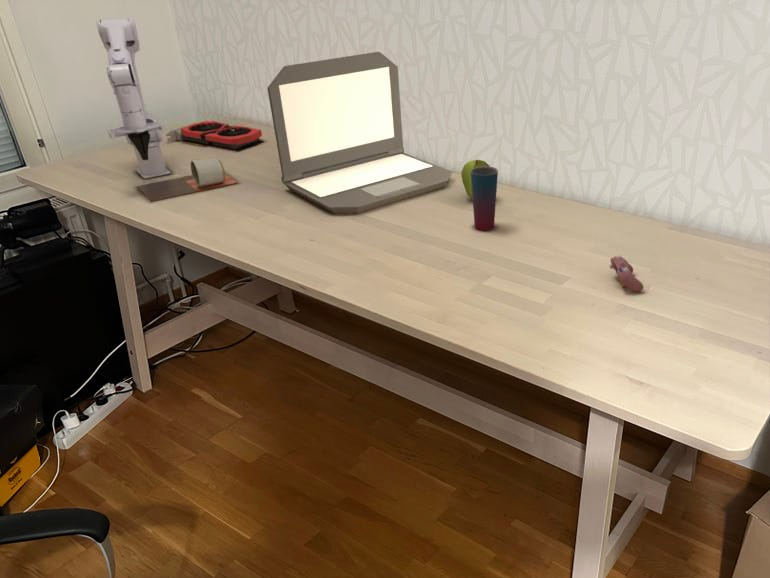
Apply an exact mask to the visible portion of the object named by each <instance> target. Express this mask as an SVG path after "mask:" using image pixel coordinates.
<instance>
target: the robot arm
mask: <svg viewBox="0 0 770 578" xmlns="http://www.w3.org/2000/svg"><path fill="white" fill-rule="evenodd" d="M96 28H97V31H98V32H97V33H98V35H99V37H100V40H101V42H102V44H103V47H104V49H105V50H106V52H107V59H108V60H107V61H108V66H106V75H107V78H108V82H109V85H110V86H111V88H112V91H113V94H114V96H115V98H116V101H117V105H118V109H119V112H120V115H121V118H122V125H123V126H121V127H117V128H113V129H108V130H107V133H108V136H109V138H110V139H111V140H114V139H116V138H121V137H125V139H126V142H127V144H128V145H130V146H132V147H133V149H134V154H135V157H136V161H137V164H138V169H136V172H137V173H138V174H139V176H141V177H142V178H143V179H145V180H146V179H150V178H156V177H160V176H161V177H162V176H166V175H170V174H171V171H170V170H169V169H168V168H167V167H166V164H165V160H164V156H163V152H162V148H161V145H160V143H162V142H163V138H164V137H163V134H162V131H165V130H166V126H165V124H164V122H163V121H159V120H158V119H159V118H158V117H157V116H156V115H155V114H154V113H152V112H150V111H148V110H147V109H146V106H145V101H144V97H143V93H142V92H143V91H142V88H141V84H140V79H139V75H138V71H137V70H138V69H137V66H136V53H138V52H139V51H140V49H141V48H140V47H141V44H140V41H139V40H140V39H139V34H138V30H137V26H136V21H135V20H134V18H132V17H131V16H129V17H122V18H105V19H101V18H98V19H97V20H96Z"/></svg>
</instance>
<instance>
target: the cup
mask: <svg viewBox="0 0 770 578" xmlns="http://www.w3.org/2000/svg"><path fill="white" fill-rule="evenodd" d="M489 166H490V165H489ZM489 166H480V167H475V168H473V169H471V183H472V197H473V200H472V210H473V221H474V223H473V224H474V229H475V230H477V231H481V232H489V231H492V230H494V228H495V219H496V205H497V204H496V203H497V191H498V176H499V170H498V168H496V167H494V166H490V167H489Z"/></svg>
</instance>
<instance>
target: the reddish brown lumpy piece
mask: <svg viewBox="0 0 770 578" xmlns="http://www.w3.org/2000/svg"><path fill="white" fill-rule="evenodd" d="M609 268H610V270H614V271H615V273H616V275H617V277H618V280H619V285H620V286H622V287H623V288H628V289H629V290H631V291H633V292H636V293H641V292H642V291H644V283H643V282H642V281H640V280H639V279H638V278H636V277H635V276H634V274H633V273H634V267H633V266H632V265H631V264H630V263H629V262H628V260H626V259H625V258H623V256H621V255H620V254H619V255H618V256H616V255H615V256H613V257H611V258H610V264H609Z"/></svg>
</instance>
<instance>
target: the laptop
mask: <svg viewBox="0 0 770 578" xmlns="http://www.w3.org/2000/svg"><path fill="white" fill-rule="evenodd" d="M267 93H268V100H269V105H270V112H271V118H272V123H273V130H274V135H275V136H274V137H275V141H276V148H277V153H278V159H279V164H280V165H279V166H280V171H281V182H282V184H283V185H284V186H286V187H287V188H288V189H289V190H290V191H292V192H294V193H295V194H297V195H299V196H300V197H303V198H305V199H306V200H308V201H310V202H312V203H313V204H317V205H318V206H319V207H322V208H323V209H325V210H327V211H328V212H331V213H333V214H335V215H338V214H339V215H341V214H342V215H343V214H345V215H346V214H351V215H352V214H356V215H357V214H359V213H362V212H365V211H366V212H367V211H370V210H372V209H375V208H380V207H382V206H385V205H389V204H392V203H395V202H399V201H402V200H406V199H409V198H414V197H416V196H419V195H422V194H425V193H429V192H432V191H435V190H436V191H437V190H440V189H442V188H445V187H446V186H447V183H448V182H449V180H450V179H451V177H452V175H453V173H454V171H453V170H449V169H447V168H445V167H441V166H439V165H436V164H434V163H432V162H428V161H426V160H425V159H421V158H418V157H416V156H413V155H410V154H408V153H405V147H404V140H403V125H402V124H403V123H402V110H401V109H402V108H401V95H400V93H401V92H400V80H399V67H398V65H397V64H395V63H394V62H393V61H392V60H390V59H389V58H388V57H387V56H385V54H383V53H382V52H380V51H374V52H367V53H361V54H354V55H348V56H340V57H334V58H327V59H321V60H315V61H309V62H303V63H302V62H301V63H295V64H290V65H284V66H283V67H282V68H281V70H280V71H278V73H277V74H276V76H275V77H274V78H273V80H272V81H271V83H270V84H269V85H268V86H267Z"/></svg>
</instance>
